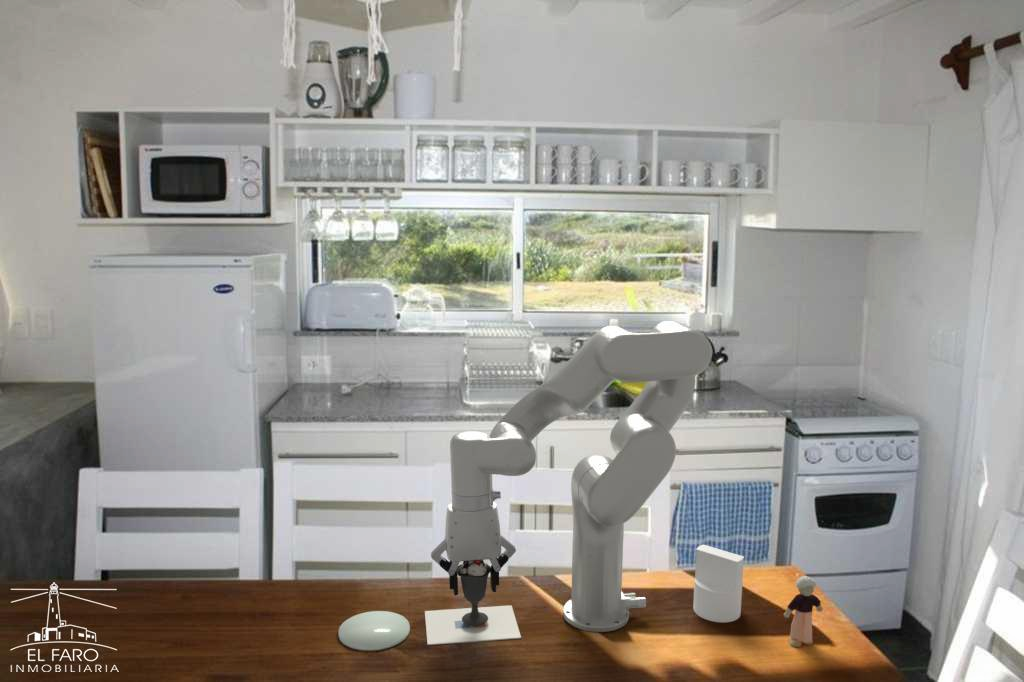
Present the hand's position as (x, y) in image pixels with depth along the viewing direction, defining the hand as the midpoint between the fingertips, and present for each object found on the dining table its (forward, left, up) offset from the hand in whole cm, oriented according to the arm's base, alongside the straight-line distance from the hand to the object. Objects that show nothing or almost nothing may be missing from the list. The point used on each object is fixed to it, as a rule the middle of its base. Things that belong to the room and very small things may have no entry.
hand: (474, 589), depth 152 cm
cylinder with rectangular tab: (-47, +1, -7) cm, 48 cm away
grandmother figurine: (-58, +14, -7) cm, 61 cm away
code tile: (+1, 0, -7) cm, 7 cm away
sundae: (0, 0, -6) cm, 6 cm away
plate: (+19, 0, -7) cm, 20 cm away
